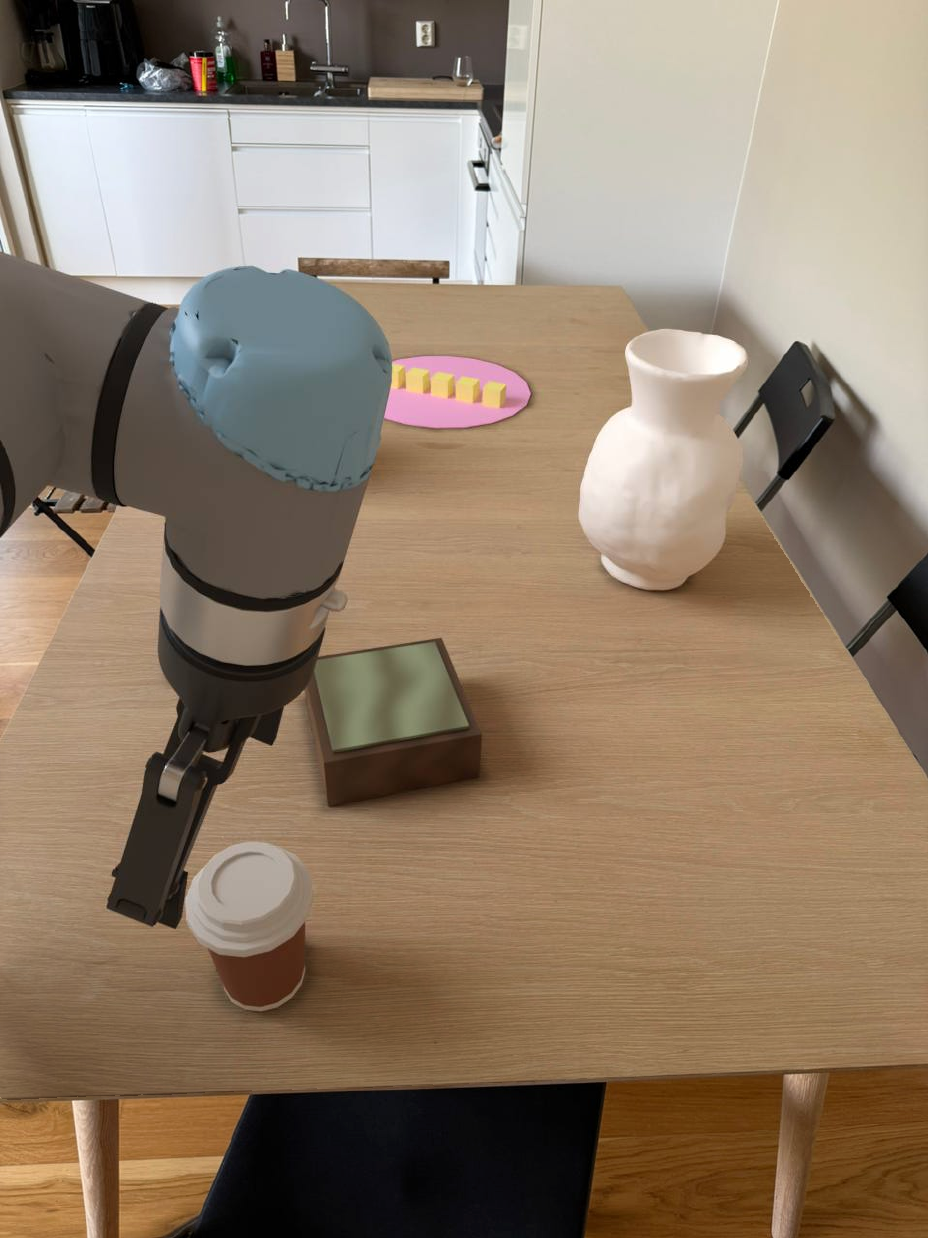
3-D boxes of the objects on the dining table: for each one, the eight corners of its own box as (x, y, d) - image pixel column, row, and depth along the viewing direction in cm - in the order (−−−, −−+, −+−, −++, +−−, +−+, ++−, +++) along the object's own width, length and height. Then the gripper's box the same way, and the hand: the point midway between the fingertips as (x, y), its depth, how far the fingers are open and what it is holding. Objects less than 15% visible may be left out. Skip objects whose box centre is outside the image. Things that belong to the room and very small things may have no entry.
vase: (556, 600, 111) (583, 370, 93) (590, 517, 127) (619, 307, 109) (707, 632, 107) (766, 397, 89) (722, 542, 123) (775, 327, 105)
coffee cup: (270, 902, 76) (254, 809, 68) (346, 966, 71) (338, 874, 64) (181, 978, 70) (153, 885, 63) (257, 1053, 65) (237, 962, 58)
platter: (496, 442, 145) (497, 423, 143) (322, 407, 154) (320, 389, 152) (552, 373, 169) (554, 356, 167) (399, 346, 178) (398, 329, 176)
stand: (327, 807, 84) (323, 760, 80) (305, 701, 95) (300, 656, 91) (479, 777, 88) (482, 731, 84) (440, 679, 99) (441, 634, 95)
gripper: (195, 877, 32) (169, 1036, 48) (405, 482, 49) (336, 694, 65) (2, 799, 32) (39, 984, 48) (280, 428, 49) (240, 654, 65)
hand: (210, 817), depth 56 cm, fingers open, 13 cm apart
